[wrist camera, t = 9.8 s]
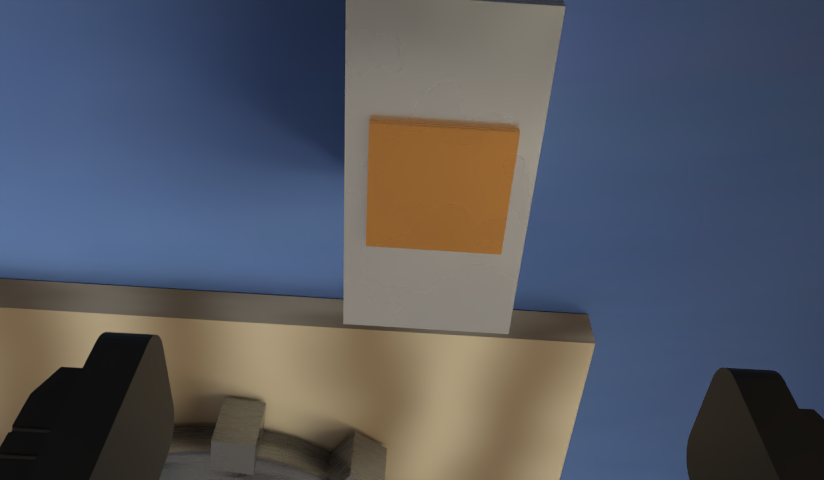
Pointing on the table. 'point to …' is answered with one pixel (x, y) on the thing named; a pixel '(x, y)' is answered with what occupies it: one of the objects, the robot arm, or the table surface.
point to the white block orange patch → (442, 156)
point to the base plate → (324, 372)
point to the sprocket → (264, 451)
